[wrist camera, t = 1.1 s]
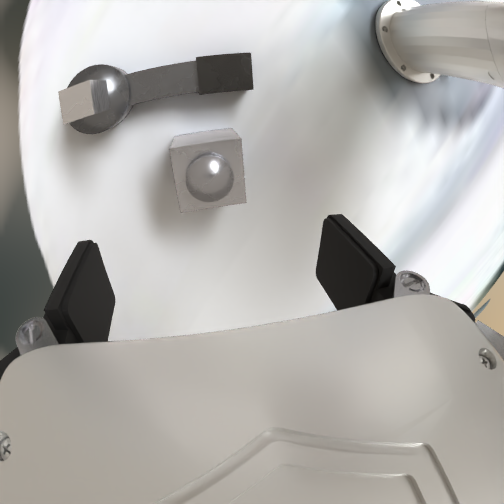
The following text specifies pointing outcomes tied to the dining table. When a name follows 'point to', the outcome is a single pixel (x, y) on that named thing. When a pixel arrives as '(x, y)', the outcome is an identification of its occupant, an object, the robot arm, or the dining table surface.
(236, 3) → the dining table surface
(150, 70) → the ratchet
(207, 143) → the cube with metal dome
